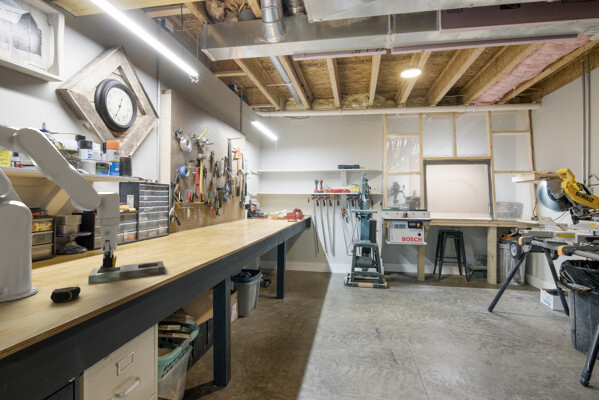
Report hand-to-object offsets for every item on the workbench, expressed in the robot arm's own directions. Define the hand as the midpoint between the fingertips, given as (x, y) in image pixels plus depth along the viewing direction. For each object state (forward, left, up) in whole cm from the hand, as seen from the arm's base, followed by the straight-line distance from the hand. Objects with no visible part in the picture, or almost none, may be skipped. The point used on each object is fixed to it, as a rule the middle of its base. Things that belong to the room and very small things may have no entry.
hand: (108, 265), depth 108 cm
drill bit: (0, 0, -4) cm, 4 cm away
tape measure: (-24, -1, -5) cm, 24 cm away
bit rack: (+3, -6, -5) cm, 9 cm away
